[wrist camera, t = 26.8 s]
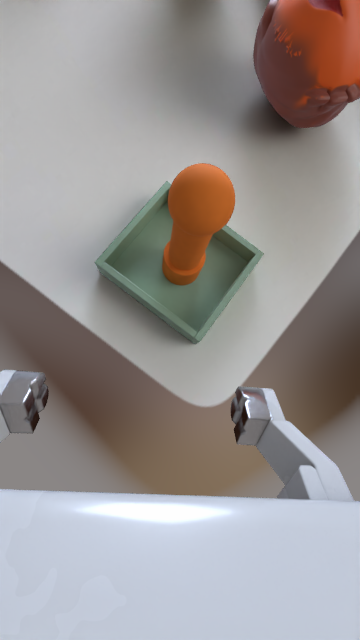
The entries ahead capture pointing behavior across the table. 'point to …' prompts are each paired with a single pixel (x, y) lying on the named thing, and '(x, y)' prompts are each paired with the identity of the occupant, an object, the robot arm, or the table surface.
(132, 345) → the table surface
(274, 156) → the table surface
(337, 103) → the orange fox figurine
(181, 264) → the plug
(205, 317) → the basin
